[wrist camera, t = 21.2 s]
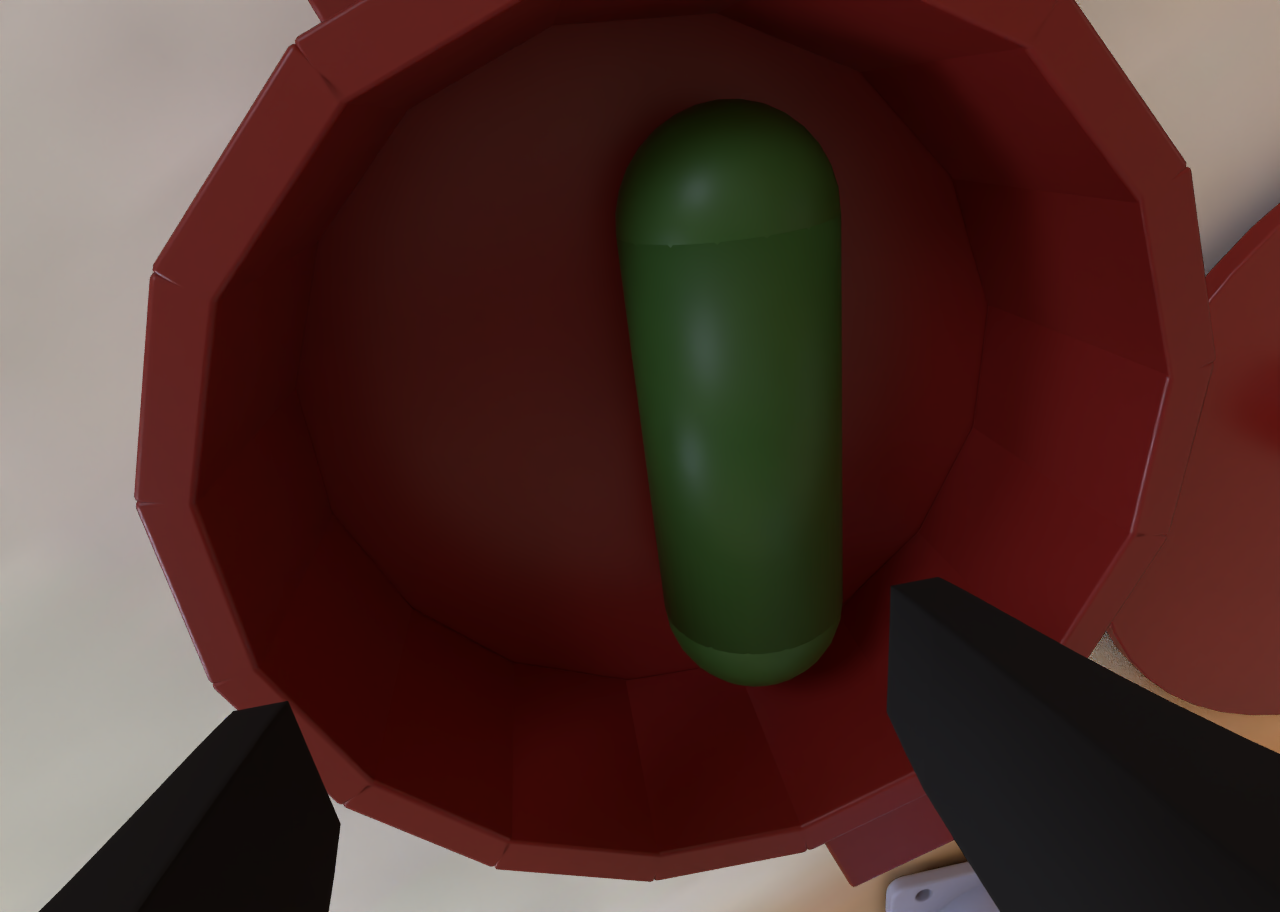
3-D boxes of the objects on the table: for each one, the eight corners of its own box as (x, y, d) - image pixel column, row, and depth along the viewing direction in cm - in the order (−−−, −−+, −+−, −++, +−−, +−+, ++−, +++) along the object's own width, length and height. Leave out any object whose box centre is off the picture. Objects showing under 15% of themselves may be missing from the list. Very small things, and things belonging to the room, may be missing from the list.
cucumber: (551, 121, 11) (742, 95, 8) (701, 100, 13) (886, 76, 10) (639, 675, 15) (779, 757, 13) (739, 592, 17) (875, 650, 15)
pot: (810, -460, 10) (1048, -936, 5) (1087, 587, 18) (1267, 736, 14) (-69, 82, 11) (-475, 56, 6) (581, 836, 19) (600, 1048, 15)
